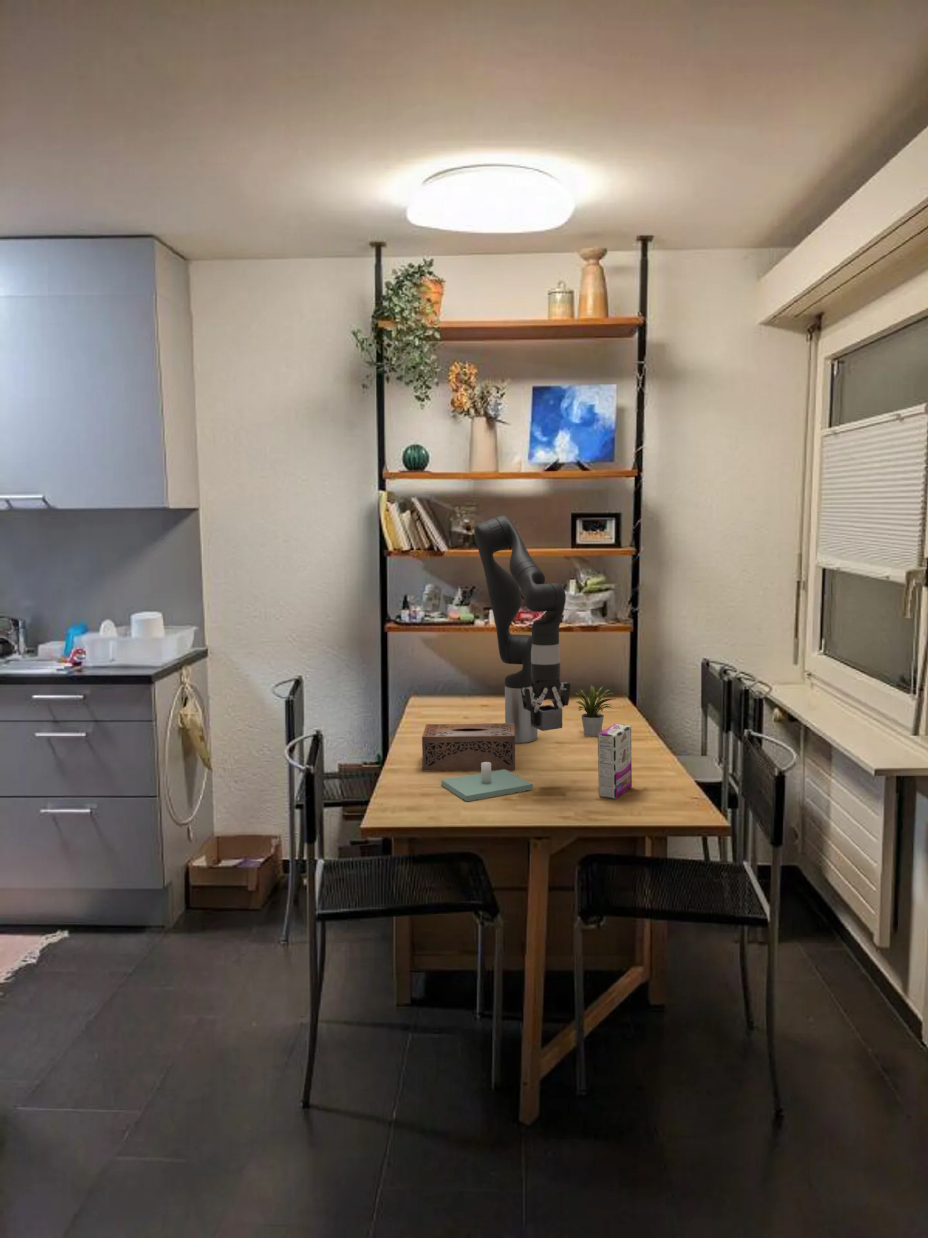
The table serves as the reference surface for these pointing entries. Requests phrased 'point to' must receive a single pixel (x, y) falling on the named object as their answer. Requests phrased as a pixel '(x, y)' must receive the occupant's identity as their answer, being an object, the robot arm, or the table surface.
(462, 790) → the post board
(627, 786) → the candy bar box
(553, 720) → the open box
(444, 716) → the table surface
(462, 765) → the tissue box cover
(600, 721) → the house plant
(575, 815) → the table surface
